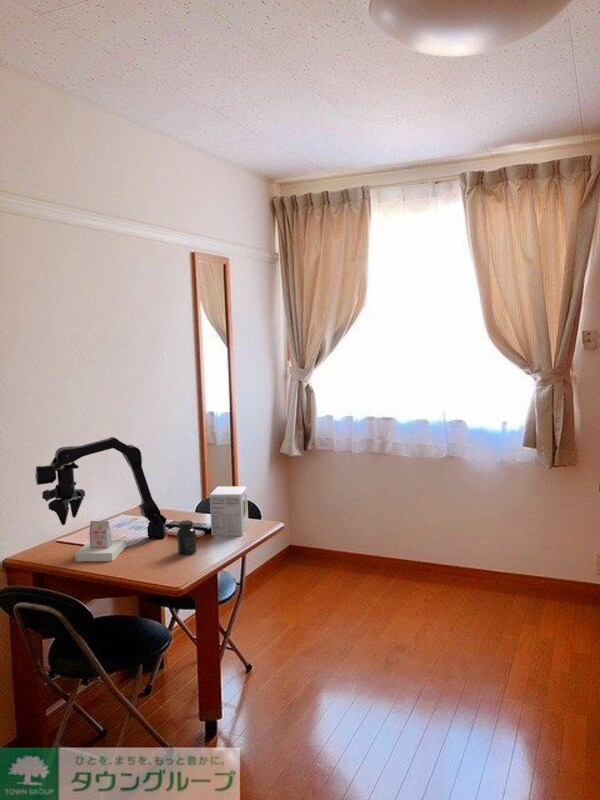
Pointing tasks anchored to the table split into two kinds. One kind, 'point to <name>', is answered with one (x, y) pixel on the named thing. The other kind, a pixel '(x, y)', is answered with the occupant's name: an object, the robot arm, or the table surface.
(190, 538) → the supplement bottle
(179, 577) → the table surface
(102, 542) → the white paper carton
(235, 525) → the supplement box
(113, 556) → the plinth
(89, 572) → the table surface
